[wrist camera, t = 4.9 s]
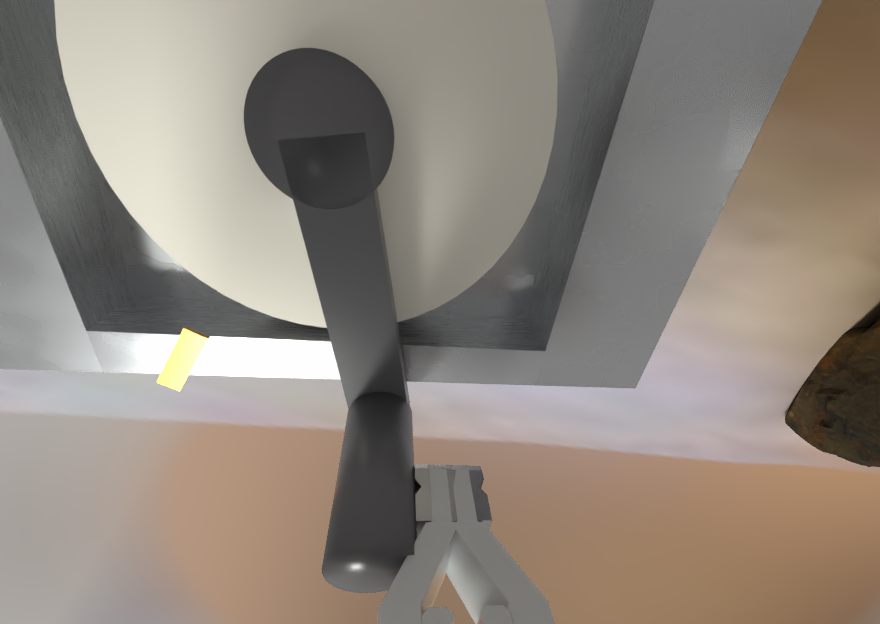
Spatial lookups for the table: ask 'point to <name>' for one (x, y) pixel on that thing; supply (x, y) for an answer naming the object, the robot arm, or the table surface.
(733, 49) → the panel
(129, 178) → the crank
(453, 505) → the robot arm
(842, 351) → the hand tool
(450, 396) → the table surface
